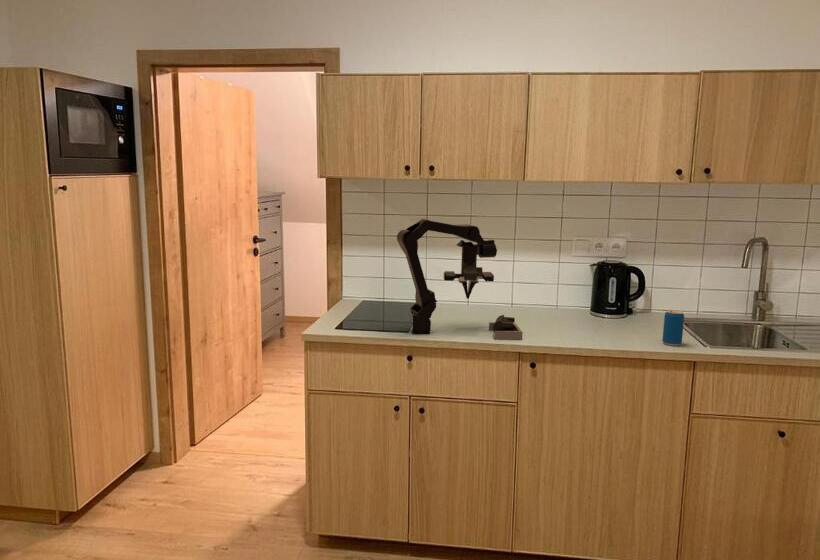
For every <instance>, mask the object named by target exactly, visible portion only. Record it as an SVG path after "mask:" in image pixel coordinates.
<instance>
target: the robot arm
mask: <svg viewBox="0 0 820 560" xmlns="http://www.w3.org/2000/svg"><path fill="white" fill-rule="evenodd" d="M428 231H429V232H436V233H442V234H448V235H452V236H455V237H458V238H460V241H459V242H457V243H456V246H457V247H461V261H460V262H461V263H460V264H461V265H460V267H461V269H460V273H456V272H455V271H452V270H451V271H449V270H445V271H444V272H443V281H446V282H447V281H448V282H449V281H450V282H451V281H452V282H453V281H454V280H456V279H457V280H458V283H459V284H462V287H463V291H464V294H465V297H466V299H468V300H469V299H470V296H471V294H472V291H473V289H474V287H475V286H476V284H479V283H480V282H479V280H483V281H485V282H494V280H495V275H494V274H493V273H492V271H483V267H481V266H479V267H478V266H477V260H478V258H480V259H482V258H484V259H485V258H487V259H490V258H496V256H497V254H498V253H497V252H498V248H497V246H496V243H495V240H494V239H486V240H484V238H483V237H482V235H481V233H480V231H481V230H480V229H479V227H478V226H476V225H471V224H451V223H446V222H445V223H444V222H440V221H434V220H430V219H425V218H421V219H419V220H418V221H417V222H415V223H413V224H412V225H410V226H408V227H407V228H406V229H401V230H399V231H398V233H397V235H396V241H397V242H398V245H399V247H400V250H402V252H403V253H404V255H405V258H406V260H407V264H408V268H409V271H410V272H409V273H410V275H411V279H412V281H413V285H414V288H415V295H414V297H415V298H414V299H415V303H414V304H413V305H412V306H411V307H410V309H409V311H410V313H411V315H412V317H411V318H412V320H411V321H412V322H411V334H414V335H421V334H423V335H425V334H426V335H428V334H429V335H430V332H431V331H432V330H431V329H432V319H431V317H432V315H433V312H434V311H436V308H437V303H438V301H437V299H436V293H435V292H434V291H432V290H430V289H429V288H428V286H427V285H428V284H427V282H426V279H425V275H424V272H423V267H422V263H421V262H420V258H419V255H418V251H419V250H418V248H419V242H418V240H420V239H421V238H422V237H423V236H424V235H425V233H427V232H428ZM463 239H464V240H463ZM465 240H466V241H465ZM475 243H476V244H475ZM477 257H478V258H477Z"/></svg>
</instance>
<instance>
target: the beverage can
mask: <svg viewBox="0 0 820 560" xmlns="http://www.w3.org/2000/svg"><path fill="white" fill-rule="evenodd" d="M663 317H664V318H663V328H662V329H663V330H662V342H663V343H664V344H665V346H671V347H679V346H680V345H681V344H682V343H683V334H684V322H685V315H684V312H683V311H682V310H678V309H666V312H665V313H664V316H663Z"/></svg>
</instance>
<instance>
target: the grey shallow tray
mask: <svg viewBox="0 0 820 560" xmlns="http://www.w3.org/2000/svg"><path fill="white" fill-rule="evenodd" d="M494 323H495V321H493V322H491V321H490V322H488V331H493V325H494ZM513 325H514V331H495V333H494V335H493V336H494V337H493V338H494V340H496V341H501V340H502V341H503V340H504V341H507V340H508V341H522V340H523V330H522V329H521V328H520V327H519V325H517V322H513Z"/></svg>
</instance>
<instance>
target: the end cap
mask: <svg viewBox="0 0 820 560" xmlns="http://www.w3.org/2000/svg"><path fill="white" fill-rule="evenodd" d="M515 319H516V318H515V317H511V316H510V317H509V316H505V314H501V315H499V316H498V317H497V318H496V320H495V321H494V322H495V323H494V325H493V333H494V334H495V331H514V325H513V323H516V321H515Z"/></svg>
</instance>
